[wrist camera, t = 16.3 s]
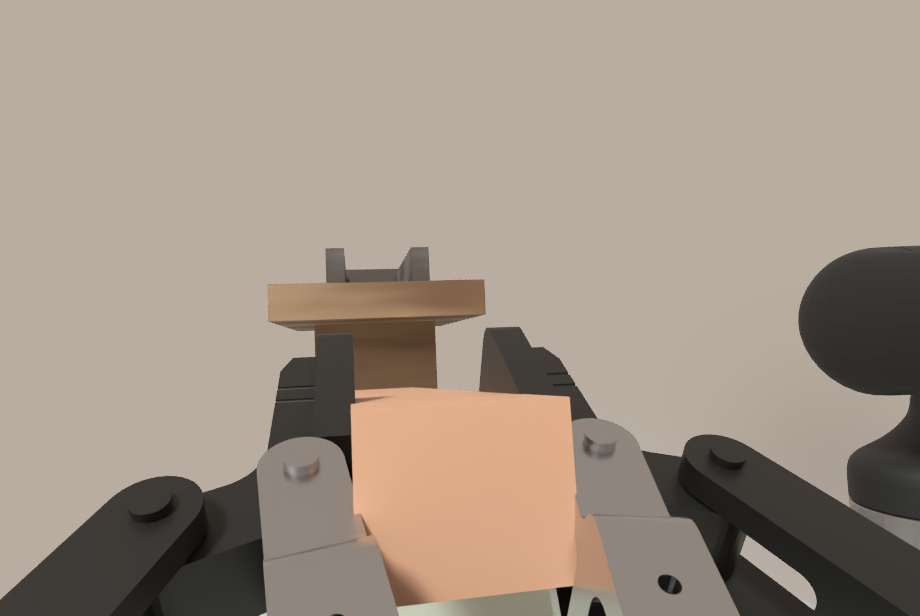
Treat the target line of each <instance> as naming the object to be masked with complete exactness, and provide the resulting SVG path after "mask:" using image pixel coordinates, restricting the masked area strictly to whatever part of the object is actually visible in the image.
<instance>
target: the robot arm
mask: <svg viewBox="0 0 920 616" xmlns="http://www.w3.org/2000/svg"><path fill="white" fill-rule="evenodd" d="M799 330H800V335H801V338H802V340H803V343H804V346H805V348H806V350H807V352H808V353H809V355H810V357H811V358H812V359H813V361H814V362H815V363H816V364H817V366H818V367H819V368H820V369H821V370H822V371H823V372H825V373H826V374H827V375H828V376H829V377H830V378H832V379H833V380H835V381H837V382H838V383H840V384H841V385H843V386H845V387H848V388H850V389H852V390H855V391H857V392H861V393H865V394H871V395H911V397H910V405H909V409H908V413H907V414H906V416H905V418H904V419H903V420H902V421H901V422H900V423H899V424H898V425H897V426H896V427H895V428H894V429H893V430H891V431H890V432H889V433H887V434H886V435H885V436H883V437H881V438H879V439H878V440H876V441H874V442H872V443H869V444H867V445H865V446H863V447H861V448H859V449H858V450H856V451H855V452H854V453H853V454H852V455H851V456H850V458H849V460H848V464H847V480H848V492H849V504H850V508H849V507H848V506H846V505H844V504H843V503H841V502H839V501H838V500H836V499H834V498H833V497H831V496H829V495H828V494H826V493H825V492H823V491H821V490H820V489H818V488H816V487H815V486H813V485H811V484H810V483H808V482H806V481H805V480H803V479H801V478H800V477H798V476H797V475H795V474H793V473H792V472H790V471H788V470H787V469H785V468H783V467H782V466H780V465H778V464H777V463H775V462H773V461H772V460H770V459H768V458H767V457H765V456H763V455H762V454H760V453H759V452H757V451H755V450H754V449H752V448H750V447H749V446H747V445H745V444H743V443H741V442H739V441H737V440H734V439H731V438H728V437H724V436H719V435H700V436H696V437H693V438H691V439H690V440H688V442H687V443H686V445H685V447H684V451H683V455H682V457H678V456H671V455H665V454H658V453H651V452H646V451H641V449H640V446H639V444H638V442H637V440H636V439H635V438H634V436H633V435H632V434H631V433H630V432H629V431H627V430H626V429H624V428H623V427H621V426H619V425H617V424H614V423H612V422H609V421H606V420H601V419H597V417H596V416H595V414H594V412H593V411H592V409H591V408H590V406H589V405H588V403H587V401H586V400H585V398H584V397H583V395H582V394H581V392H580V391H579V389H578V387H577V386H575V383H574V381H573V379H572V378H571V376H570V375H568V372H567V370H566V368H565V367H564V365H563V364H562V362H561V361H560V359H559V358H558V357H556V356H555V355H553V354H552V353H551V352H549V351H548V350H546V349H545V348H543V347H539V348H538V347H537V348H532V347H531V346H530V344H529V342H528V340H527V339H526V337H525V335H524V333H523V332H522V330H521V328H520V327H498V328H486V330H485V333H484V339H483V350H482V363H481V376H480V387H479V392H492V393H508V394H532V395H549V396H565V397H570V408H571V422H572V436H573V450H574V464H575V478H576V492H577V494H575V520H574V536H575V541H576V551H577V566H576V574H575V579H574V586H568V587H559V588H551V589H549V591H550V597H551V603H552V609H553V615H554V616H920V246H901V247H880V248H868V249H863V250H858V251H855V252H851V253H849V254H846V255H844V256H841V257H839V258H837V259H836V260H834V261H832V262H831V263H830V264H828V265H827V266H826V267H824V268H823V269H822V270H821V271H820V272H819V273H818V274H817V275H816V276H815V278H814V279H813V280H812V282H811V283H810V285H809V286H808V287H807V289H806V292H805V294H804V296H803V298H802V301H801V304H800V309H799ZM351 404H355V381H354V356H353V333H335V334H318V345H317V357H307V358H293V359H292V360H291V361H290V362H289V363H288V364H287V365H286V366H285V367H284V369H283V370H282V371H281V372H280V378H279V385H278V390H277V396H276V403H275V408H274V414H273V420H272V426H271V432H270V438H269V444H268V450H267V452H265V454H264V455H263V456H262V457H261V459H260V460H259V462H258V465H257V468H256V469H255V470H254V471H253V472H252V473H250V474H249V475H248V476H246V477H244V478H242V479H241V480H239V481H236V482H234V483H232V484H229V485H226V486H223V487H220V488H217V489H214V490H211V491H207V492H203V493H202V490H201V489H200V487H199V486H198V485H197V484H196V483H195V482H193V481H191V480H189V479H185V478H183V477H177V476H164V477H155V478H151V479H147V480H143V481H140V482H138V483H135V484H133V485H131V486H129V487H127V488H125V489H124V490H122V491H120V492H119V493H117V494H116V495H115V496H114V497H112V498H111V499H110V500H109V501H108V502H107V503H106V504H104V505H103V506H102V507H101V508H100V509H99V510H98V511H97V512H96V513H95V514H94V515H92V517H90V518H89V519H88V520H87V521H86V522H85V523H84V524H83V525H82V526H80V527H79V528H78V529H77V530H76V531H75V532H74V533H73V534H72V535H71V536H70V537H68V538H67V539H66V540H65V541H64V542H63V543H62V544H61V545H60V546H59V547H57V548H56V549H55V550H54V551H53V552H52V553H51V554H50V555H49V556H48V557H47V558H45V559H44V560H43V561H42V562H41V563H40V564H39V565H38V566H37V567H36V568H35V569H33V570H32V571H31V572H30V573H29V574H28V575H27V576H26V577H25V578H24V579H22V580H21V581H20V582H19V583H18V584H17V585H16V586H15V587H14V588H13V589H12V590H10V591H9V592H8V593H7V594H6V595H5V596H4V597H3V598H2V599H1V600H0V616H259V615H262V614H264V613H267V616H399V614H398V610H397V607H396V604H395V600H394V597H393V593H392V590H391V587H390V583H389V580H388V577H387V573H386V570H385V567H384V563H383V560H382V556H381V553H380V550H379V547H378V544H377V541H376V539H375V537H374V536H373V535H370V536H367V535H366V531H365V528H364V524H363V521H362V517H361V514H354V508H353V473H352V438H351ZM746 535H748V536H749V537H751V538H752V539H753V540H755V541H756V542H758V543H759V544H760V545H762V546H763V547H764V548H766V549H767V550H768V551H770V552H771V553H773V554H774V555H775V556H777V557H778V558H779V559H781V560H782V561H784V562H785V563H786V564H788V565H789V566H790V567H792V568H793V569H795V570H796V571H797V572H799V573H800V574H801V575H802V576H804V577H805V578H806V579H807V581H808V582H809V583H810V585H811V586H812V587H813V590H814V592H815V594H816V598H817V605H816V608H815V610H813V609H811V608H810V607H808V606H807V605H806V604H805V603H803V602H802V601H801V600H799V599H798V598H797V597H795V596H794V595H793V594H791V593H790V592H789V591H787V590H786V589H785V588H783V587H782V586H781V585H779V584H778V583H777V582H775V581H774V580H773V579H772V578H770V577H769V576H768V575H766V574H765V573H764V572H762V571H761V570H760V569H758V568H757V567H756V566H754V565H753V564H752V563H750V562H749V561H748V560H747V559H745V558H744V557H743V556H741V555H740V552H741V549H742V546H743V543H744V541H745V538H746Z"/></svg>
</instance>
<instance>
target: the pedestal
mask: <svg viewBox="0 0 920 616" xmlns="http://www.w3.org/2000/svg"><path fill="white" fill-rule="evenodd" d="M397 610H398V614H399V616H554V615H553V609H552V603H551V597H550V591H549V589H543V590H534V591H526V592H518V593H509V594H501V595H493V596H485V597H476V598H468V599H460V600H451V601H443V602H435V603H426V604H418V605H410V606H401V607H397ZM259 616H267V613H264V614H262V615H259Z"/></svg>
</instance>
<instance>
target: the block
mask: <svg viewBox="0 0 920 616" xmlns="http://www.w3.org/2000/svg"><path fill="white" fill-rule="evenodd" d="M351 438H352V473H353V508H354V514H361V517H362V521H363V524H364V528H365V531H366V535H367V536H370V535H373V536H374V537H375V539H376V541H377V544H378V547H379V550H380V553H381V556H382V560H383V563H384V567H385V570H386V573H387V577H388V580H389V583H390V587H391V590H392V593H393V597H394V600H395V604H396V607H401V606H410V605H418V604H426V603H435V602H443V601H451V600H460V599H468V598H476V597H485V596H493V595H501V594H509V593H518V592H526V591H534V590H543V589H551V588H559V587H568V586H574V579H575V574H576V566H577V551H576V541H575V536H574V520H575V494H577V492H576V478H575V464H574V450H573V436H572V422H571V408H570V397H565V396H549V395H532V394H508V393H492V392H479V391H465V390H464V391H463V390H448V389H432V388H415V387H408V388H389V389H370V390H355V404H351Z"/></svg>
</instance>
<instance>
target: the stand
mask: <svg viewBox="0 0 920 616" xmlns="http://www.w3.org/2000/svg"><path fill="white" fill-rule="evenodd" d="M428 253H429V251H428V247H415V248H411V249H410V250H409V252H408V254H407V256H406V257H405V259H404V261H403V262H402V264H401V266H400V267H399V269H375V270H374V269H373V270H345V257H344V249H343V248H339V249H338V248H337V249H336V248H331V249H326V280H327V283H312V284H311V283H310V284H269V285H268V321H269V322H272V323H275V324H278V325H281V326H284V327H288V328H291V329H294V330H297V331H310V330H315V357H317V345H318V334H335V333H353V356H354V381H355V390H370V389H389V388H408V387H415V388H432V389H437V370H436V343H435V326H441V325H445V324H449V323H453V322H457V321H461V320H465V319H469V318H473V317H477V316H480V315H484V314H486V311H485V290H484V289H485V288H484V280H445V281H430V278H429V254H428Z"/></svg>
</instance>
